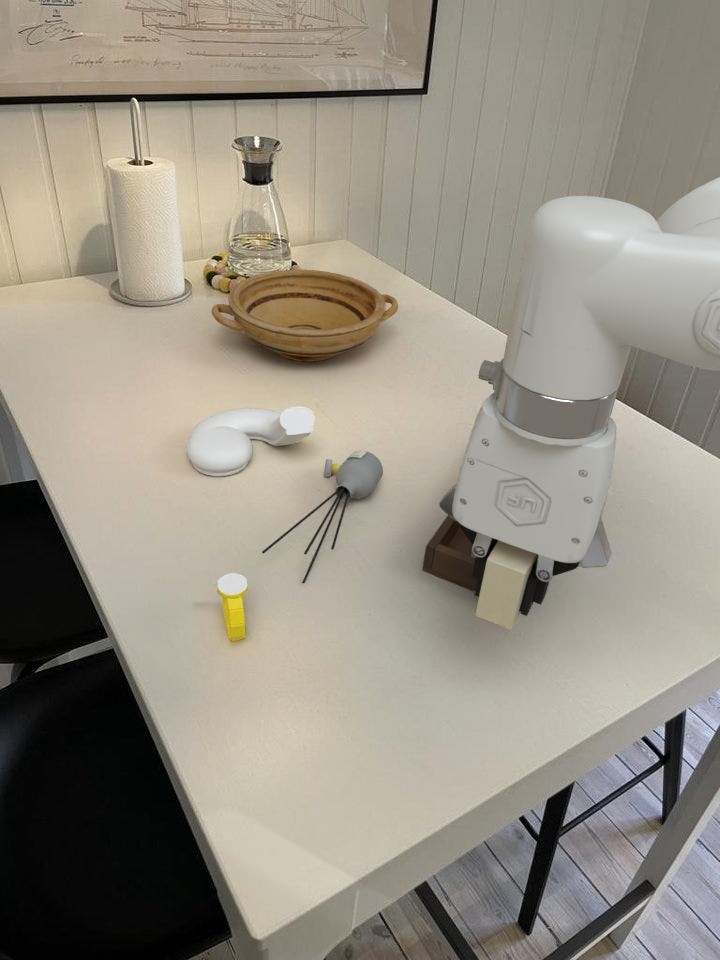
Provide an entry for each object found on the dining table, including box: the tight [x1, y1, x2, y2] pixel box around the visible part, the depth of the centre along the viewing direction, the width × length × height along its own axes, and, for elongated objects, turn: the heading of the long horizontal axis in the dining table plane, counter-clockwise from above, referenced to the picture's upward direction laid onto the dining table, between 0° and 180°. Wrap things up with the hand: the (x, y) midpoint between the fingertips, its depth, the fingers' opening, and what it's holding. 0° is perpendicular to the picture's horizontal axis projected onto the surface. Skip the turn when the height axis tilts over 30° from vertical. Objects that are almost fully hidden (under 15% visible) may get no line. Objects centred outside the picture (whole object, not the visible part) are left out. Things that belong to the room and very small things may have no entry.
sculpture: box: [186, 405, 316, 477], centre depth 93 cm, size 12×15×8 cm
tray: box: [422, 515, 478, 593], centre depth 89 cm, size 11×32×4 cm, turn 152°
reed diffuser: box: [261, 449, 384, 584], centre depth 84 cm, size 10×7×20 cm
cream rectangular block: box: [475, 540, 538, 631], centre depth 59 cm, size 3×6×6 cm, turn 152°
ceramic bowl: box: [211, 269, 399, 362], centre depth 118 cm, size 30×24×8 cm
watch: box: [216, 572, 249, 642], centre depth 70 cm, size 6×3×6 cm, turn 16°
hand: (506, 593), depth 60 cm, fingers closed on cream rectangular block, 3 cm apart
